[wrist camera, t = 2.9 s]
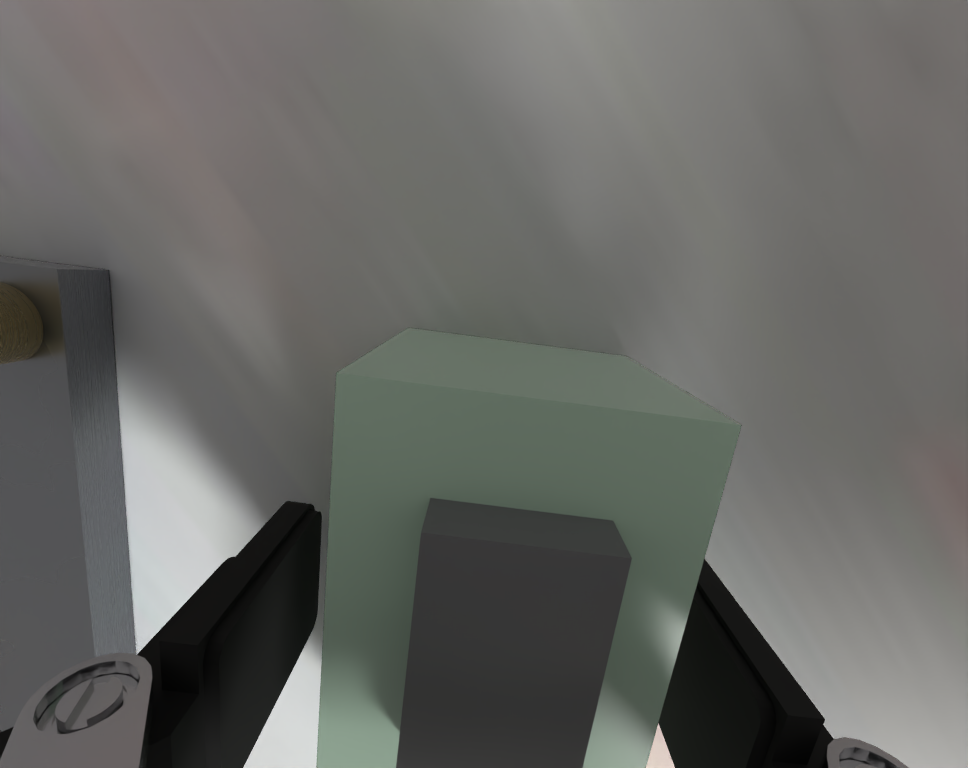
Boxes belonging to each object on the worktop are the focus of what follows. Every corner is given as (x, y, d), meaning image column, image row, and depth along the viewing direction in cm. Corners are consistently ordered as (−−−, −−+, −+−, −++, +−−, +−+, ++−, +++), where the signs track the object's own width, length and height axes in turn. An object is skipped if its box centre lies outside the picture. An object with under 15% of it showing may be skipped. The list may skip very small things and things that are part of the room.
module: (624, 354, 10) (796, 457, 4) (547, 725, 13) (593, 1095, 7) (409, 326, 10) (302, 394, 4) (376, 705, 13) (280, 1061, 7)
